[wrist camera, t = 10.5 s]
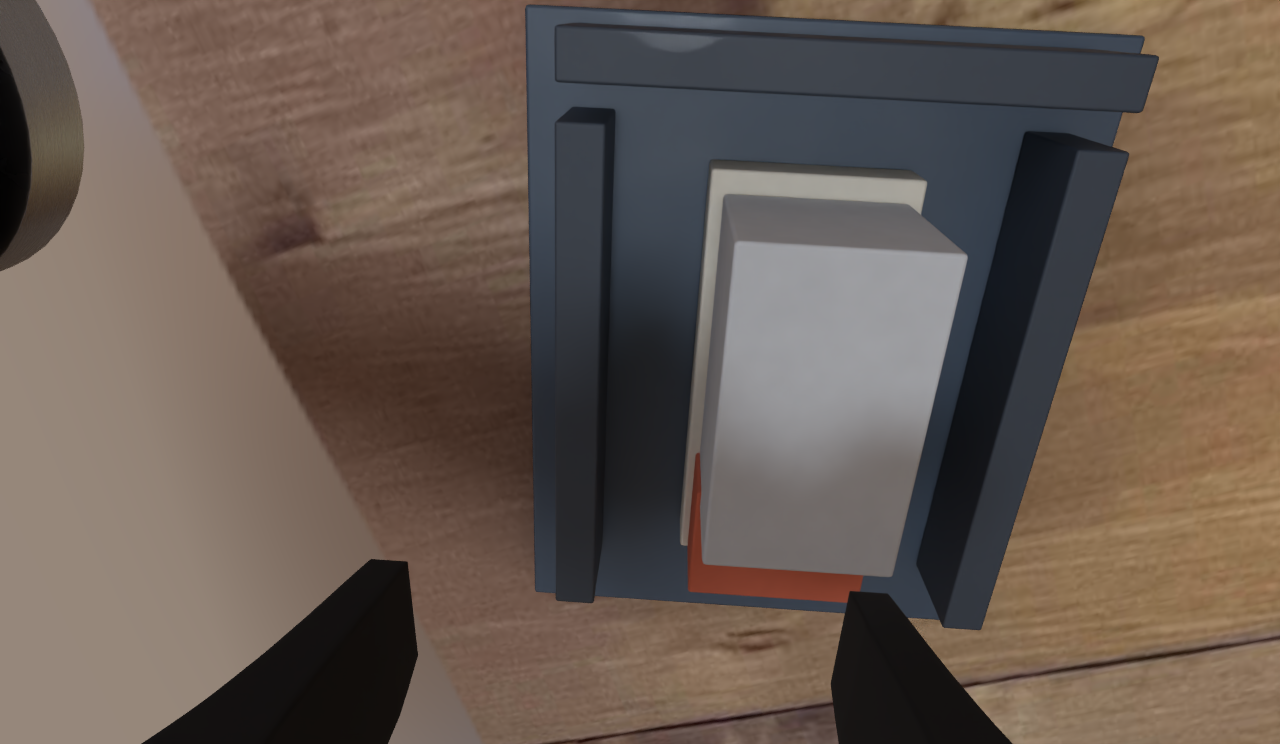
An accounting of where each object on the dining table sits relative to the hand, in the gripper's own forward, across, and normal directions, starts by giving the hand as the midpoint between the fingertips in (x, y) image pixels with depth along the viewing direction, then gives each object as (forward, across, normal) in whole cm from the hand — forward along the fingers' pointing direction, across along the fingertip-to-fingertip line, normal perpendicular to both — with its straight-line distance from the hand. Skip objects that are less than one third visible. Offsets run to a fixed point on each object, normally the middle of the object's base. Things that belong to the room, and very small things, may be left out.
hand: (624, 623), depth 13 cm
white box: (+8, -3, -1) cm, 9 cm away
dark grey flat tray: (+9, -4, -1) cm, 10 cm away
